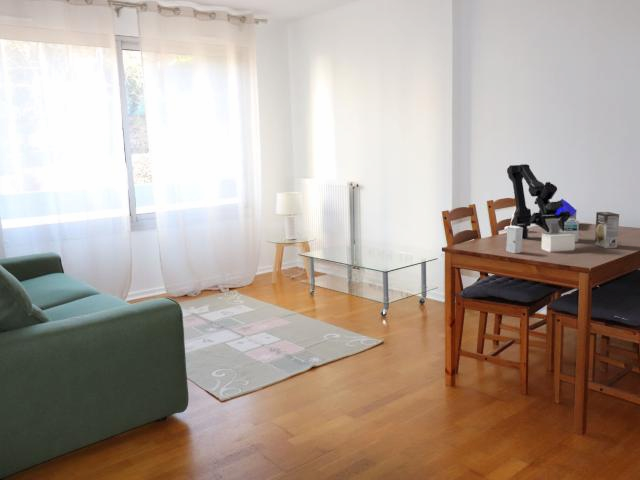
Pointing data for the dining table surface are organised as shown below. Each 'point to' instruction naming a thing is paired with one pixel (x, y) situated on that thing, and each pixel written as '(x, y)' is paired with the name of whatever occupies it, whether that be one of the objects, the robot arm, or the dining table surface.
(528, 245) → the dining table surface
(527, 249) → the dining table surface
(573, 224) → the light bulb box
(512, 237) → the skincare box
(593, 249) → the dining table surface
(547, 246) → the carton
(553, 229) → the carton lid
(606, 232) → the coffee box
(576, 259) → the dining table surface
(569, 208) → the house
